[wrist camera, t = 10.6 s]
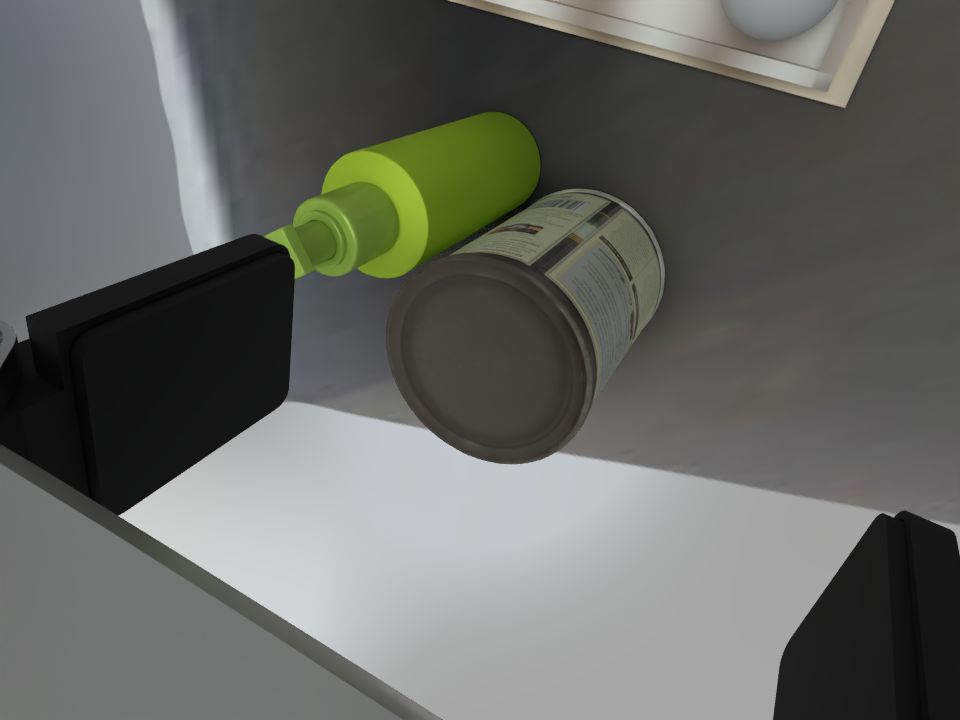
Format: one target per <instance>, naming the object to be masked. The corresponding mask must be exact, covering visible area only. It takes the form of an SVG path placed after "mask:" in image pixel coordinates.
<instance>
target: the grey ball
mask: <svg viewBox="0 0 960 720" xmlns="http://www.w3.org/2000/svg"><path fill="white" fill-rule="evenodd" d="M720 2H721V5H722V8H723V11H724V12H725V14H726V16H727V18H728V19H729V20H730V22H731V23H732V24H733V25H734V26H735V27H736V28H737V29H738V30H740V31H741V32H742V33H744V34H746V35H748V36H750V37H753V38H756V39H760V40H765V41H777V40H784V39H789V38H792V37H795V36H798V35H800V34H802V33H804V32H806V31H808V30H809V29H811V28H812V27H814V26H815V25H817V24H818V23H819V22H820V21H821V20H823V19H824V18H825V17H826V16H827V15H828V14H829V12H830V11H831V10H832V9H833V7H834V6H835V5H836V3H837V2H838V0H720Z"/></svg>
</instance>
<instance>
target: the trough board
mask: <svg viewBox="0 0 960 720" xmlns="http://www.w3.org/2000/svg"><path fill="white" fill-rule="evenodd" d="M448 1H452V2H456V3H460V4H463V5H467V6H471V7H474V8H478V9H482V10H485V11H489V12H493V13H496V14H500V15H504V16H507V17H511V18H515V19H519V20H522V21H526V22H530V23H533V24H537V25H541V26H544V27H548V28H552V29H555V30H559V31H563V32H566V33H570V34H574V35H578V36H581V37H585V38H589V39H592V40H596V41H600V42H603V43H607V44H611V45H614V46H618V47H622V48H625V49H629V50H633V51H637V52H640V53H644V54H648V55H651V56H655V57H659V58H662V59H666V60H670V61H673V62H677V63H681V64H685V65H688V66H692V67H696V68H699V69H703V70H707V71H710V72H714V73H718V74H721V75H725V76H729V77H732V78H736V79H740V80H744V81H747V82H751V83H755V84H758V85H762V86H766V87H769V88H773V89H777V90H780V91H784V92H788V93H791V94H795V95H799V96H803V97H806V98H810V99H814V100H817V101H821V102H825V103H828V104H832V105H836V106H839V107H843V108H845V107H846V104H847V102H848V100H849V98H850V96H851V94H852V91H853V89H854V87H855V85H856V83H857V81H858V78H859V76H860V74H861V72H862V70H863V68H864V65H865V63H866V61H867V59H868V57H869V55H870V52H871V50H872V48H873V46H874V44H875V42H876V39H877V37H878V35H879V33H880V31H881V29H882V26H883V24H884V22H885V20H886V18H887V16H888V13H889V11H890V9H891V7H892V5H893V3H894V0H838V2H837V3H836V5H835V6H834V7H833V9H832V10H831V11H830V12H829V14H828V15H827V16H826V17H825V18H824V19H823V20H821V21H820V22H819V23H818V24H817V25H815V26H814V27H812V28H811V29H809V30H808V31H806V32H804V33H802V34H800V35H798V36H795V37H792V38H789V39H784V40H777V41H765V40H760V39H756V38H753V37H750V36H748V35H746V34H744V33H742V32H741V31H740V30H738V29H737V28H736V27H735V26H734V25H733V24H732V23H731V22H730V20H729V19H728V18H727V16H726V14H725V12H724V11H723V8H722V5H721V2H720V0H448Z"/></svg>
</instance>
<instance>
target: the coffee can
mask: <svg viewBox="0 0 960 720" xmlns="http://www.w3.org/2000/svg"><path fill="white" fill-rule="evenodd" d="M664 282H665V268H664V260H663V256H662V252H661V249H660V246H659V244H658V241H657V240H656V238H655V235H654V233H653V231H652V229H651V228H650V227H649V226H648V225H647V223H646V222H645V220H644V219H643V218H642V217H641V216H640V215H639V214H638V213H637V212H636V211H635V210H634V209H633V208H632V207H630V206H629V205H628V204H626V203H625V202H623V201H622V200H620V199H618V198H616V197H614V196H612V195H609V194H607V193H603V192H601V191H597V190H590V189H567V190H562V191H558V192H555V193H552V194H549V195H547V196H545V197H543V198H541V199H539V200H537V201H536V202H535V203H533V204H532V205H531V206H530V207H529V208H527V209H525V210H524V211H522V212H520V213H519V214H517V215H515V216H513V217H512V218H510V219H508V220H507V221H505V222H504V223H502V224H500V225H499V226H497V227H495V228H494V229H492V230H490V231H489V232H487V233H485V234H484V235H482V236H481V237H479V238H477V239H476V240H474V241H472V242H470V243H469V244H467V245H465V246H464V247H462V248H460V249H459V250H457V251H456V252H454V253H452V254H451V255H449V256H446V257H443V258H440V259H438V260H435V261H433V262H431V263H429V264H427V265H425V266H424V267H422V268H421V269H419V270H418V271H417V272H415V273H414V274H413V275H412V276H411V277H410V278H409V279H408V280H407V281H406V282H405V283H404V284H403V286H402V287H401V288H400V290H399V291H398V293H397V294H396V296H395V298H394V300H393V303H392V305H391V308H390V311H389V316H388V321H387V330H386V343H387V354H388V360H389V365H390V368H391V371H392V374H393V377H394V379H395V382H396V384H397V386H398V388H399V390H400V392H401V394H402V396H403V397H404V399H405V401H406V402H407V404H408V405H409V407H410V408H411V410H412V411H413V412H414V413H415V415H416V416H417V417H418V418H419V420H420V421H421V422H422V423H423V424H424V425H425V426H426V427H427V428H428V429H429V430H430V431H432V432H433V433H434V434H435V435H436V436H437V437H439V438H440V439H442V440H443V441H444V442H446V443H447V444H449V445H451V446H452V447H454V448H456V449H457V450H459V451H461V452H463V453H465V454H467V455H470V456H472V457H475V458H478V459H481V460H485V461H489V462H494V463H500V464H523V463H529V462H533V461H537V460H541V459H543V458H545V457H548V456H550V455H552V454H554V453H555V452H557V451H559V450H560V449H561V448H563V447H564V446H565V445H566V444H567V443H569V442H570V441H571V440H572V439H573V438H574V436H575V435H576V434H577V432H578V431H579V429H580V428H581V427H582V425H583V423H584V421H585V419H586V417H587V415H588V413H589V410H590V408H591V406H592V405H593V403H594V401H595V400H596V398H597V397H598V395H599V394H600V392H601V391H602V389H603V388H604V386H605V385H606V383H607V382H608V381H609V379H610V378H611V376H612V375H613V373H614V372H615V370H616V369H617V367H618V365H619V364H620V362H621V361H622V360H623V358H624V357H625V355H626V354H627V352H628V350H629V349H630V347H631V346H632V344H633V343H634V341H635V340H636V338H637V337H638V335H639V334H640V332H641V331H642V329H643V328H644V327H645V326H646V325H647V323H648V322H649V321H650V320H651V318H652V317H653V315H654V314H655V312H656V310H657V308H658V306H659V303H660V301H661V299H662V295H663V290H664Z"/></svg>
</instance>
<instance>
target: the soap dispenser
mask: <svg viewBox="0 0 960 720" xmlns="http://www.w3.org/2000/svg"><path fill="white" fill-rule="evenodd" d="M540 167H541V163H540V155H539V150H538V147H537V144H536V142H535V140H534V138H533V136H532V134H531V133H530V132H529V130H528V129H527V128H526V127H525V126H524V125H523V124H522V123H521V122H520V121H519V120H517V119H516V118H514V117H512V116H510V115H508V114H505V113H501V112H486V113H482V114H478V115H475V116H472V117H468V118H465V119H462V120H458V121H455V122H452V123H448V124H445V125H442V126H438V127H435V128H431V129H428V130H425V131H421V132H418V133H415V134H411V135H408V136H405V137H401V138H398V139H395V140H391V141H388V142H385V143H381V144H378V145H375V146H371V147H368V148H364V149H361V150H358V151H354V152H351V153H349V154H346V155H344V156H343V157H341V158H340V159H338V160H337V161H336V162H335V163H334V164H333V166H332V167H331V168H330V170H329V171H328V173H327V175H326V177H325V180H324V183H323V187H322V194H321V195H318V196H316V197H313V198H310V199H308V200H306V201H305V202H303V203H302V204H301V205H300V206H299V208H298V209H297V211H296V213H295V216H294V220H293V225H292V224H289V225H287V226H284V227H282V228H280V229H278V230H276V231H274V232H272V233H270V234H268V235H266V236H264V237H265V238H267V239H270V240H272V241H274V242H277V243H279V244H281V245H284V246H285V247H286V248H287V249H288V251H289V253H290V258H291V259H292V260H293V261H294V263H295V279H297V278H299V277H301V276H304V275H306V274H308V273H310V272H312V271H314V270H316V271H318V272H320V273H322V274H324V275H327V276H341V275H344V274H346V273H348V272H350V271H352V270H354V269H356V268H357V269H358V270H360V271H362V272H364V273H366V274H368V275H371V276H374V277H379V278H394V277H398V276H401V275H403V274H405V273H407V272H409V271H411V270H412V269H414V268H416V267H417V266H419V265H421V264H422V263H424V262H426V261H427V260H429V259H431V258H432V257H434V256H436V255H437V254H439V253H441V252H442V251H444V250H446V249H448V248H449V247H451V246H453V245H454V244H456V243H458V242H459V241H461V240H463V239H464V238H466V237H468V236H469V235H471V234H473V233H474V232H476V231H478V230H479V229H481V228H483V227H484V226H486V225H488V224H490V223H491V222H493V221H495V220H496V219H498V218H500V217H501V216H503V215H505V214H506V213H508V212H510V211H511V210H513V209H515V208H516V207H518V206H520V205H521V204H523V203H524V202H525V201H526V200H527V199H528V198H529V197H530V196H531V195H532V193H533V192H534V190H535V188H536V186H537V183H538V180H539V176H540Z"/></svg>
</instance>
